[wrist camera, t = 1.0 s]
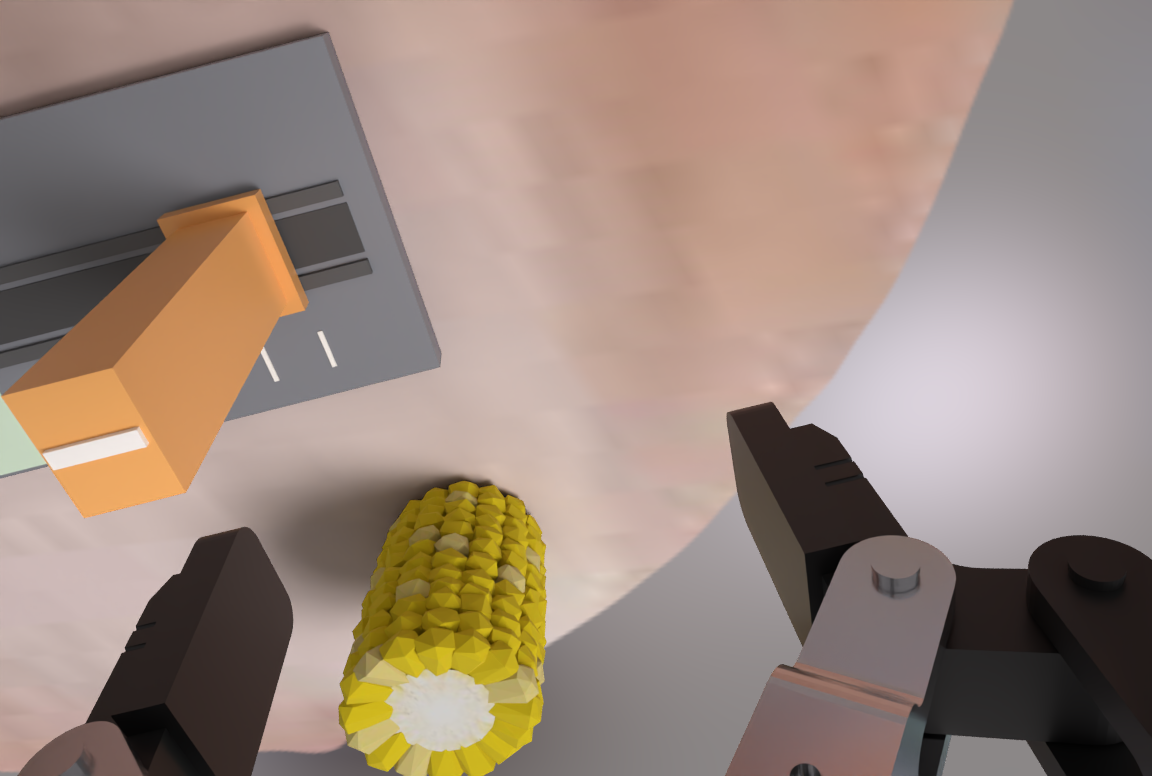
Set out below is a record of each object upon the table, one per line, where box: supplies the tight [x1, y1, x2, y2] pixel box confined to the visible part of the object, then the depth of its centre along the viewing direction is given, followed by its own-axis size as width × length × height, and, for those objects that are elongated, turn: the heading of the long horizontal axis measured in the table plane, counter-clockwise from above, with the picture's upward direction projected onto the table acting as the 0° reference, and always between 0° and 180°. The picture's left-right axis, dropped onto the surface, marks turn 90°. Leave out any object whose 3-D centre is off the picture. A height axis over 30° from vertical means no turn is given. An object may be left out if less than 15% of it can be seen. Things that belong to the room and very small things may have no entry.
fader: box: [1, 189, 309, 518], centre depth 30 cm, size 4×6×16 cm
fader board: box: [0, 32, 441, 478], centre depth 37 cm, size 28×16×4 cm, turn 103°
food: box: [339, 481, 547, 776], centre depth 42 cm, size 15×12×10 cm
